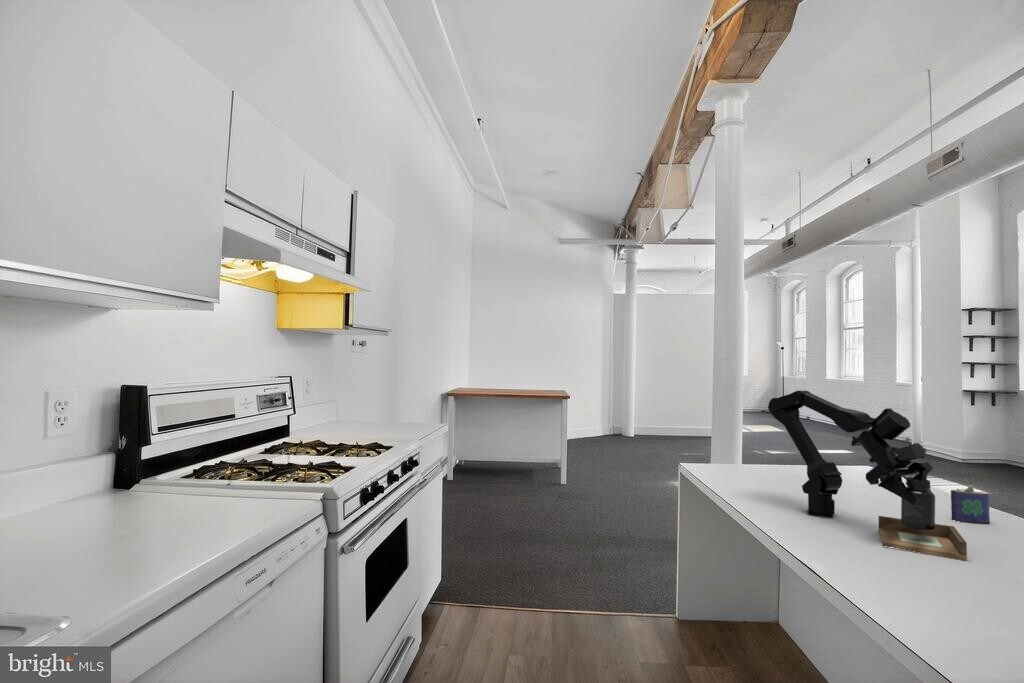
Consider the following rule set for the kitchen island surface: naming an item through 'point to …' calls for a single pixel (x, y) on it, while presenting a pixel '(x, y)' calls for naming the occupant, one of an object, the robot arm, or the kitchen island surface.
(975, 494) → the flask
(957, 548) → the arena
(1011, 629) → the kitchen island surface
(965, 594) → the kitchen island surface
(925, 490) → the supplement bottle
